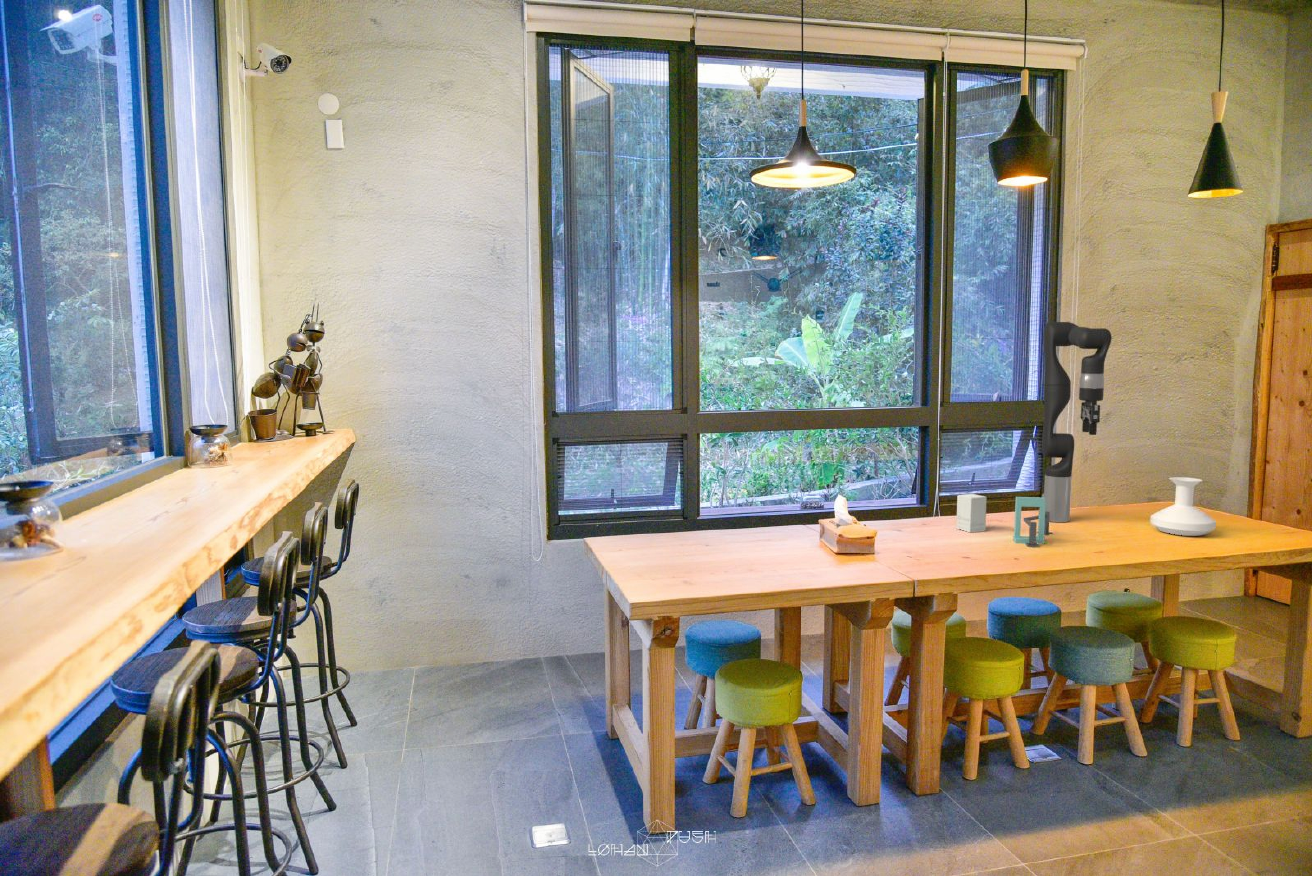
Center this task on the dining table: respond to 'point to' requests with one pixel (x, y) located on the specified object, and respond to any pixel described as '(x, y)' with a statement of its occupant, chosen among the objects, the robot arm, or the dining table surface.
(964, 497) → the supplement box
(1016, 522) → the teal frame
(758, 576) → the dining table surface
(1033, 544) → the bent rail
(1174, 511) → the candle holder
